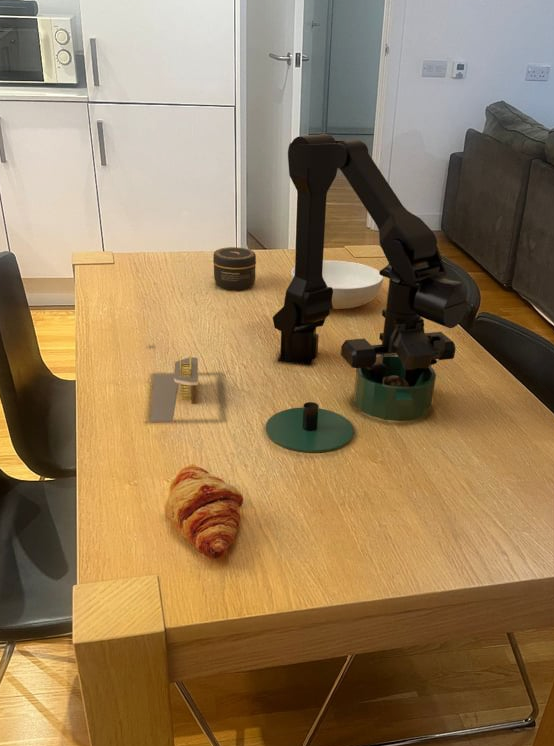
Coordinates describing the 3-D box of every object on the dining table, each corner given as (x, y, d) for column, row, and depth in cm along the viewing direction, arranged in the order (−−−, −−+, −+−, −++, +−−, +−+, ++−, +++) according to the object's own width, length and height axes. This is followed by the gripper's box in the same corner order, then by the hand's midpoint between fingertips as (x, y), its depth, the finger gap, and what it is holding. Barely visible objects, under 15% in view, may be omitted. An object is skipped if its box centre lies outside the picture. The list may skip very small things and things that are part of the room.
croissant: (171, 501, 111) (142, 462, 106) (230, 465, 111) (203, 425, 106) (200, 591, 94) (167, 551, 89) (270, 550, 94) (240, 507, 89)
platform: (149, 421, 123) (147, 385, 120) (154, 374, 138) (152, 340, 134) (223, 420, 125) (223, 384, 121) (220, 373, 140) (219, 340, 136)
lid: (266, 455, 116) (267, 426, 113) (264, 412, 128) (265, 385, 125) (358, 456, 117) (361, 427, 114) (348, 413, 129) (350, 386, 126)
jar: (219, 276, 185) (218, 244, 181) (259, 280, 184) (259, 248, 180) (209, 289, 177) (208, 256, 173) (251, 293, 176) (251, 260, 172)
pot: (360, 431, 124) (364, 395, 120) (347, 381, 140) (350, 348, 136) (440, 431, 125) (446, 396, 121) (419, 382, 141) (424, 349, 137)
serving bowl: (396, 300, 177) (399, 271, 173) (352, 326, 162) (354, 295, 158) (320, 281, 186) (322, 253, 182) (272, 304, 171) (272, 274, 167)
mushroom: (374, 406, 131) (378, 380, 128) (378, 393, 135) (381, 367, 132) (404, 410, 130) (408, 384, 127) (407, 397, 134) (411, 372, 131)
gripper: (370, 331, 114) (360, 423, 122) (479, 322, 119) (462, 410, 128) (343, 306, 122) (336, 393, 131) (446, 298, 128) (433, 382, 136)
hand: (392, 395), depth 131 cm, fingers closed on mushroom, 5 cm apart
